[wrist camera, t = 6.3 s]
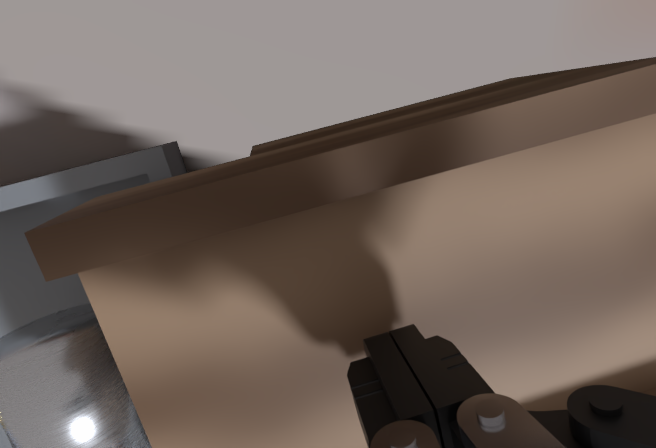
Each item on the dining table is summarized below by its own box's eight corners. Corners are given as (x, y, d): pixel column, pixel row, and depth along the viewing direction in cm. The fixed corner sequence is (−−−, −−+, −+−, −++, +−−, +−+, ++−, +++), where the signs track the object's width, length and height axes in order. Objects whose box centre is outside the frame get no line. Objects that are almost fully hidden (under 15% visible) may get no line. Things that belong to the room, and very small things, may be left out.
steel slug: (125, 293, 17) (18, 321, 17) (77, 346, 13) (-63, 383, 13) (169, 406, 18) (70, 433, 18) (137, 485, 14) (11, 521, 14)
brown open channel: (137, 176, 19) (24, 233, 10) (511, 78, 20) (714, 48, 11) (223, 410, 22) (196, 617, 13) (542, 312, 24) (720, 438, 14)
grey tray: (-279, 258, 18) (-385, 286, 15) (176, 141, 19) (161, 145, 16) (-103, 530, 21) (-160, 595, 18) (268, 415, 23) (269, 458, 20)
